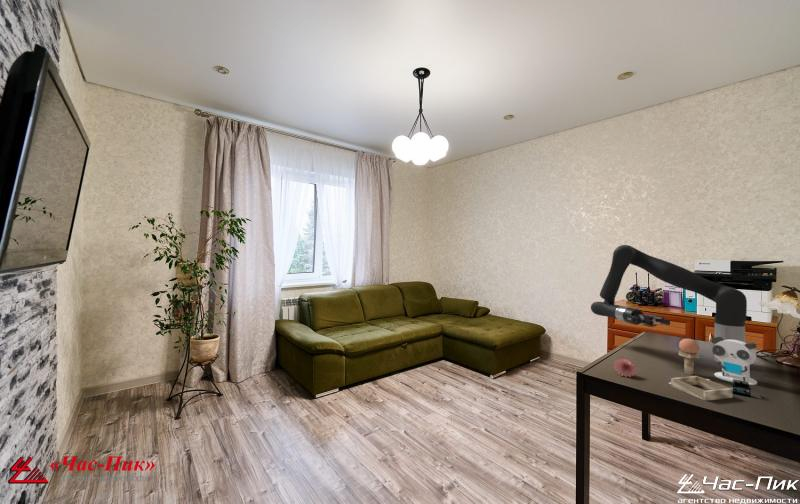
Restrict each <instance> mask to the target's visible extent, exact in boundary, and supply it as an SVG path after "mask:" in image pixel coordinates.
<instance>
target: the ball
mask: <svg viewBox="0 0 800 504" xmlns="http://www.w3.org/2000/svg"><path fill="white" fill-rule="evenodd" d="M678 346H679V349H680V351H683V352H685V353H688V354H694V353H698V352H699V351H700V345H699V343H698V342H697V341H696V340H694V339H691V338H683V339H681V340H680V341H679V343H678Z"/></svg>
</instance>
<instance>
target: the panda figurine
mask: <svg viewBox="0 0 800 504" xmlns="http://www.w3.org/2000/svg"><path fill="white" fill-rule="evenodd" d="M710 341H711V343H712V344H713V347H712V354H713V355H714V358H715V357H716V358H717V359H718V360H719V361H721V362H717V364H718V366H719V367H720V368H721V371H718V372H715V373H714V376H715V377H716V378H718V379H720V380H722V381H726V382H729V383H732V382H733V379H735V380H741V381H746V382H748V383H749V386H755V385H758V381H757V380H755V379H754V378H751V375H750V371H751V370H750V366H751V365H752V364H754V363H755V362H756V361H757V360H756V359H757V354H756V351H755V349H756V348H757V344H756V343H755V342H749V343H747V342H746V341H745V342H742V341H738V340H723V338H722V337H715V336H714V337H712V338H711V340H710Z"/></svg>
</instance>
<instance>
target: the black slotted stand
mask: <svg viewBox="0 0 800 504" xmlns="http://www.w3.org/2000/svg"><path fill="white" fill-rule="evenodd" d="M730 385H731V389H733V395H736V396H741V397H746V398H752V399H755V400H761V401H763V398H762V397H761V395H760V394H759V393H754V392H751V391H752V388H751V385H749V383H748V382H746V381H741V380H735V379H733V382H730Z"/></svg>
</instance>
